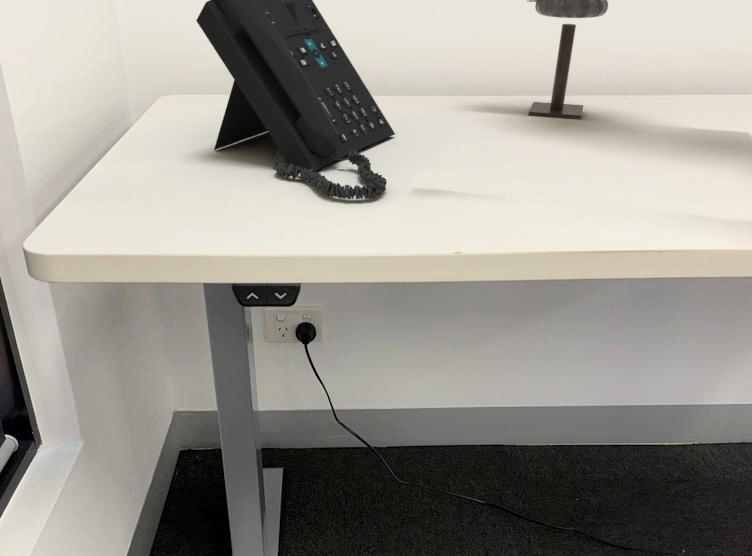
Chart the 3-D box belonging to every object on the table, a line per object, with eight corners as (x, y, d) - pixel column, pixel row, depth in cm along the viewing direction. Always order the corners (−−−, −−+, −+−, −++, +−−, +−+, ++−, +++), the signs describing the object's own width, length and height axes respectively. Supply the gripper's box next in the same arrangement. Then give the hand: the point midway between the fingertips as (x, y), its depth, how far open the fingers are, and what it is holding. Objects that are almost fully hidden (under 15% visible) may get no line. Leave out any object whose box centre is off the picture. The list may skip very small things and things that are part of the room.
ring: (606, 12, 115) (609, -6, 114) (605, 19, 107) (608, 0, 106) (538, 10, 118) (540, -8, 116) (531, 17, 109) (533, -2, 108)
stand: (582, 111, 122) (597, 22, 115) (580, 122, 116) (595, 29, 109) (532, 108, 124) (544, 20, 117) (527, 118, 118) (539, 26, 111)
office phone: (364, 207, 81) (368, -5, 70) (163, 168, 93) (139, -18, 82) (468, 147, 102) (484, -22, 91) (294, 122, 114) (289, -31, 103)
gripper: (482, -111, 105) (472, 1, 112) (635, -110, 100) (614, 6, 107) (488, -110, 110) (478, -3, 117) (634, -109, 105) (614, 2, 113)
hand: (544, 2), depth 112 cm, fingers closed on ring, 2 cm apart
